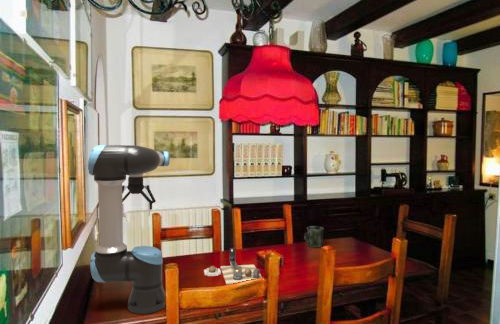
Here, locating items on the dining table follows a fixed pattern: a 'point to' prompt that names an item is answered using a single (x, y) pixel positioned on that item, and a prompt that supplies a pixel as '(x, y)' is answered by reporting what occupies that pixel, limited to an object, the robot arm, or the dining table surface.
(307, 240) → the mug
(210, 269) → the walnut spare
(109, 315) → the dining table surface
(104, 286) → the dining table surface
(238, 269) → the lever
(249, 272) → the walnut
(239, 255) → the dining table surface
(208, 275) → the dish
